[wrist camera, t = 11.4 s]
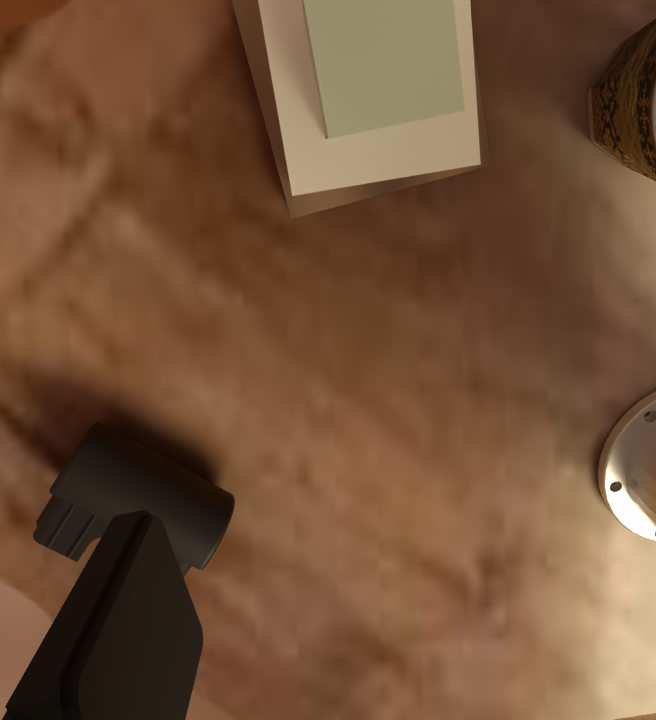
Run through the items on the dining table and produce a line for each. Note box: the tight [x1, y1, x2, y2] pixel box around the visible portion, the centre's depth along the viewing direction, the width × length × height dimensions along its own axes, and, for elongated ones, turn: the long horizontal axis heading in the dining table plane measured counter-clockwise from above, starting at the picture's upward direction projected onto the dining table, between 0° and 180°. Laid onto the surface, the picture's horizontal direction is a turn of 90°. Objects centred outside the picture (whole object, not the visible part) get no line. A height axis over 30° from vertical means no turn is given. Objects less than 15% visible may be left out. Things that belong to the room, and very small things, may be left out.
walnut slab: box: [232, 0, 492, 219], centre depth 31 cm, size 11×11×4 cm
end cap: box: [33, 422, 235, 577], centre depth 37 cm, size 10×7×7 cm
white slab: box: [258, 0, 481, 196], centre depth 28 cm, size 9×9×4 cm
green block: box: [302, 0, 465, 139], centre depth 23 cm, size 5×5×6 cm
